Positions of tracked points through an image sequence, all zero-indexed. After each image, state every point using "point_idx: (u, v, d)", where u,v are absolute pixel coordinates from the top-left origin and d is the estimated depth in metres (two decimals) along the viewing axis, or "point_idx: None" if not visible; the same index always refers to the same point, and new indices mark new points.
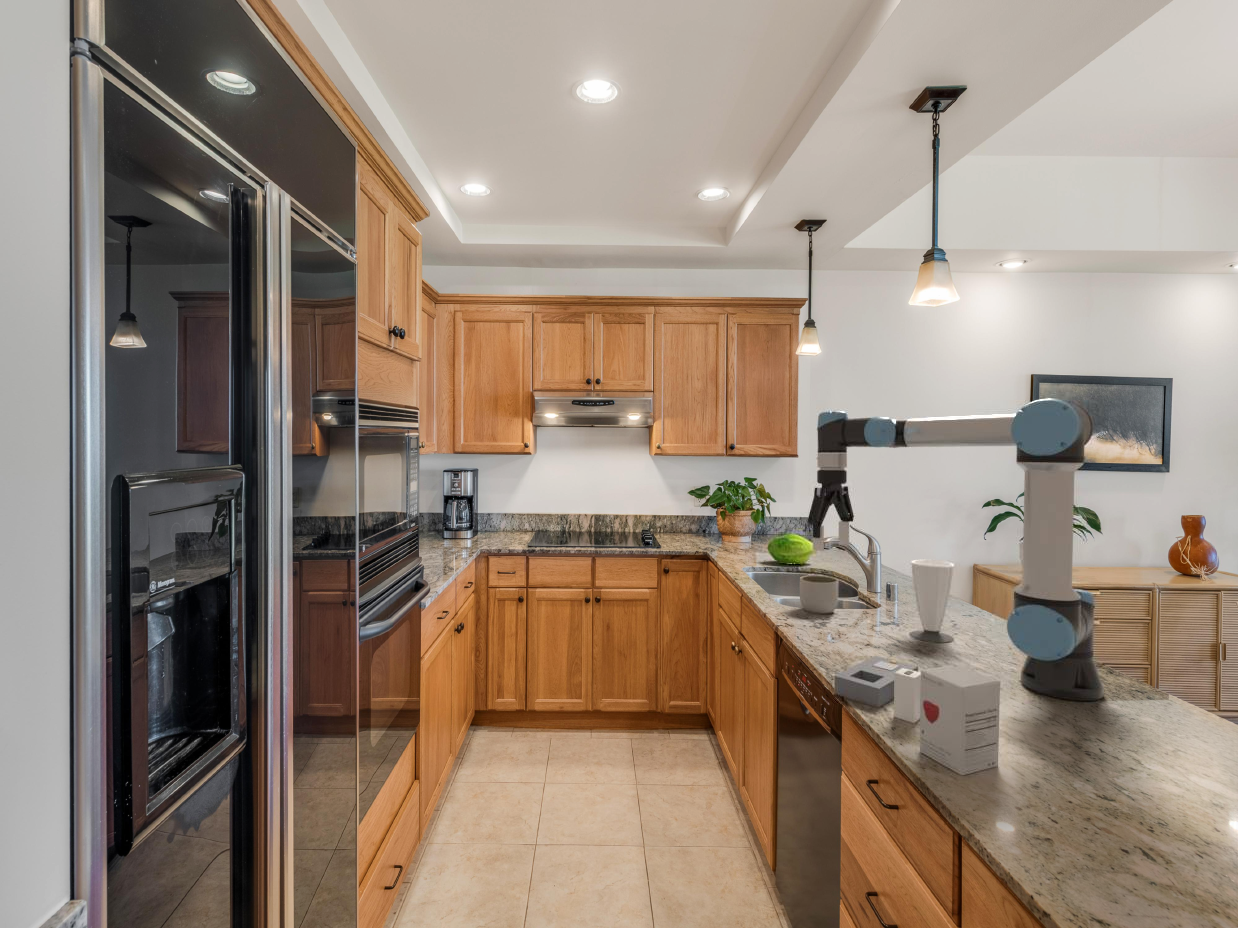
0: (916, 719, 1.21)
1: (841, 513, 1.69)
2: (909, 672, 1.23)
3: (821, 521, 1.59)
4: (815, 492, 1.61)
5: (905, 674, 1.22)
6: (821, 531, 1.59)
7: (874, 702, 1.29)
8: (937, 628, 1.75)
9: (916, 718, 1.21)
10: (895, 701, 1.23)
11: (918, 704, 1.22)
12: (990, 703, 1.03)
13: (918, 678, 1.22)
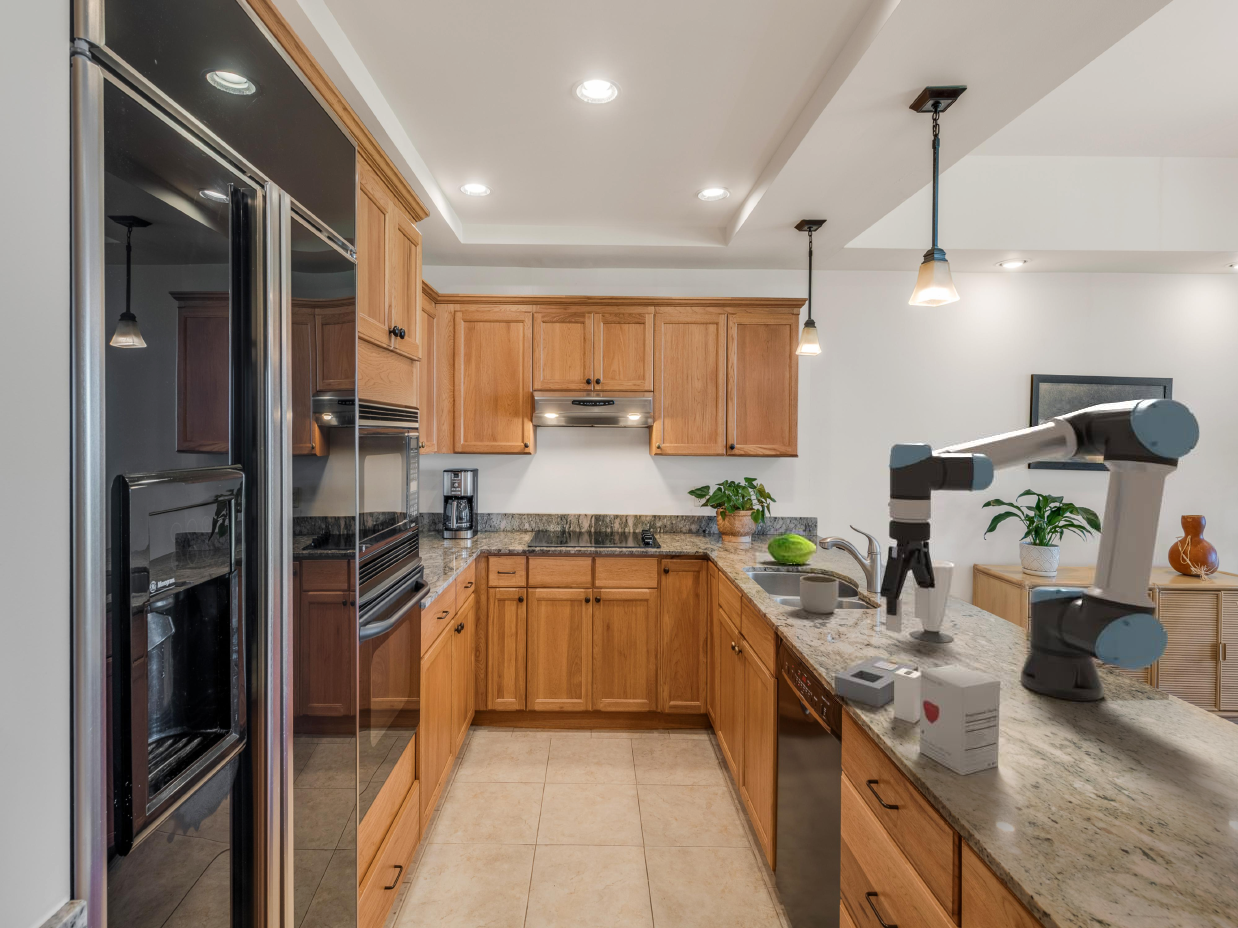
0: (916, 719, 1.21)
1: (919, 576, 1.27)
2: (909, 672, 1.23)
3: (899, 593, 1.17)
4: (889, 553, 1.19)
5: (905, 674, 1.22)
6: (898, 606, 1.18)
7: (874, 702, 1.29)
8: (937, 628, 1.75)
9: (916, 718, 1.21)
10: (895, 701, 1.23)
11: (918, 704, 1.22)
12: (990, 703, 1.03)
13: (918, 678, 1.22)
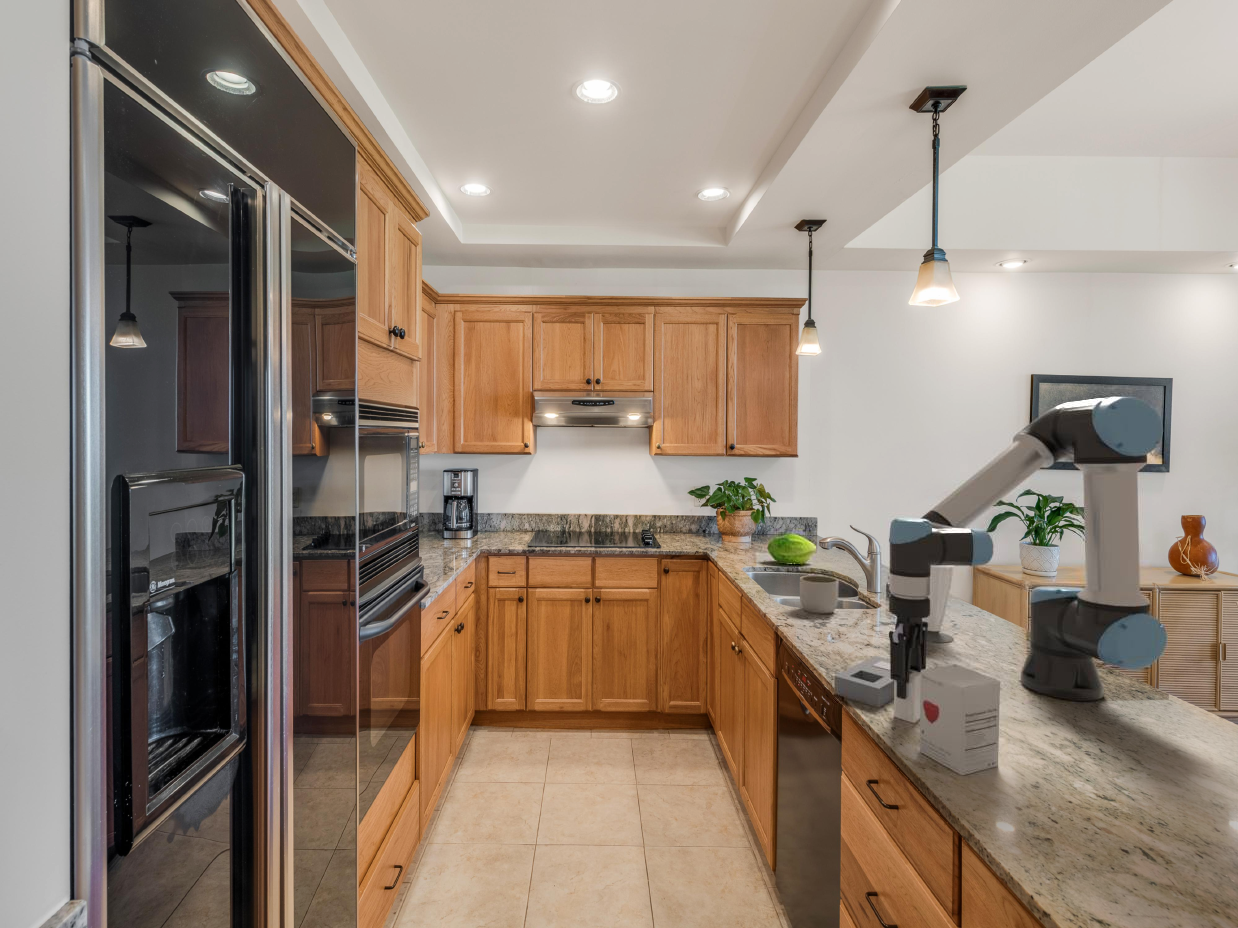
0: (916, 719, 1.21)
1: (912, 659, 1.25)
2: None
3: (908, 677, 1.20)
4: (891, 639, 1.20)
5: None
6: (908, 690, 1.21)
7: (874, 702, 1.29)
8: (937, 628, 1.75)
9: (916, 718, 1.21)
10: (895, 701, 1.23)
11: (918, 704, 1.22)
12: (990, 703, 1.03)
13: (918, 677, 1.22)
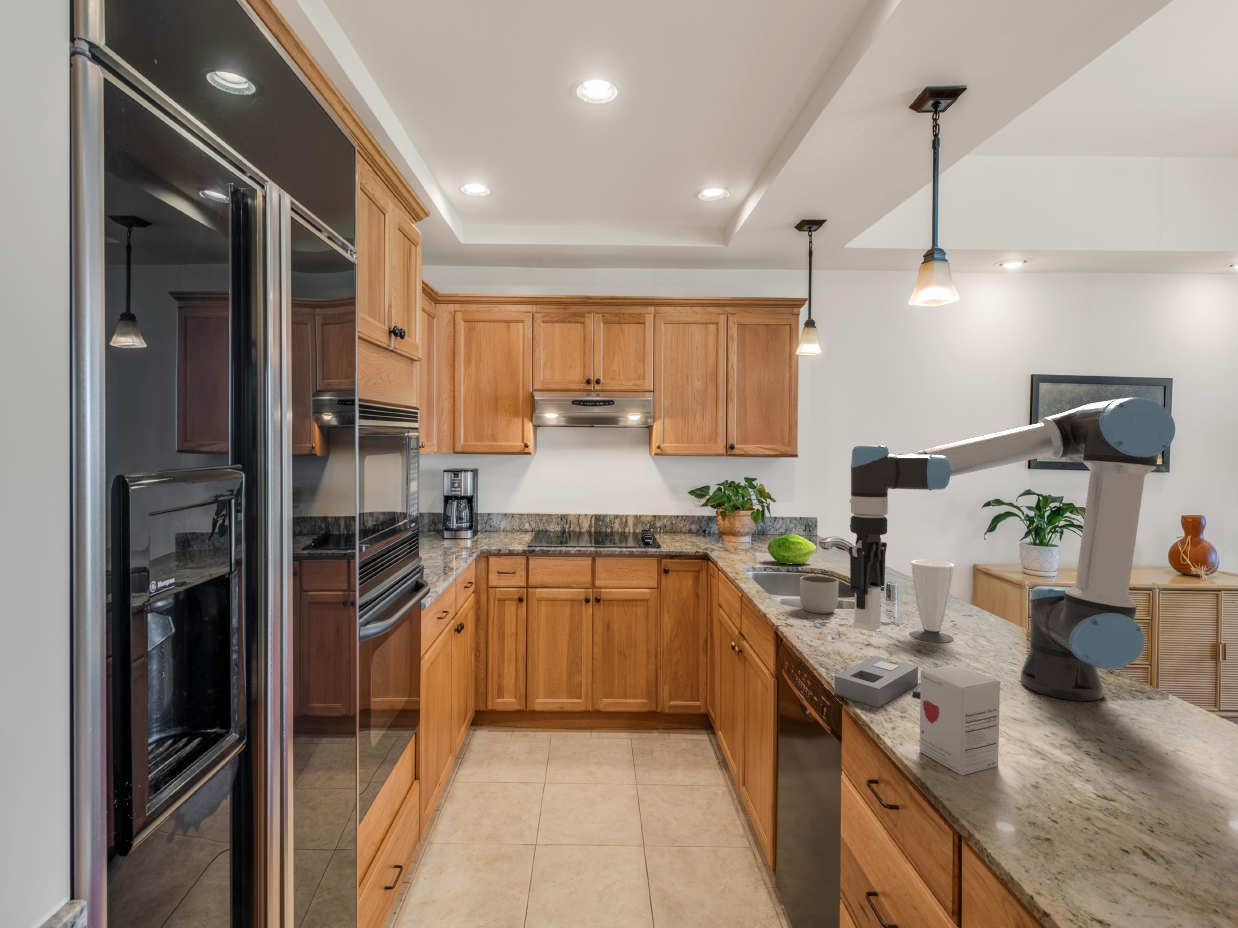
0: (874, 628, 1.33)
1: (871, 575, 1.36)
2: (868, 586, 1.34)
3: (866, 589, 1.31)
4: (851, 553, 1.31)
5: None
6: (867, 601, 1.32)
7: (874, 702, 1.29)
8: (937, 628, 1.75)
9: (874, 627, 1.33)
10: (855, 613, 1.35)
11: (876, 615, 1.33)
12: (990, 703, 1.03)
13: (875, 590, 1.33)
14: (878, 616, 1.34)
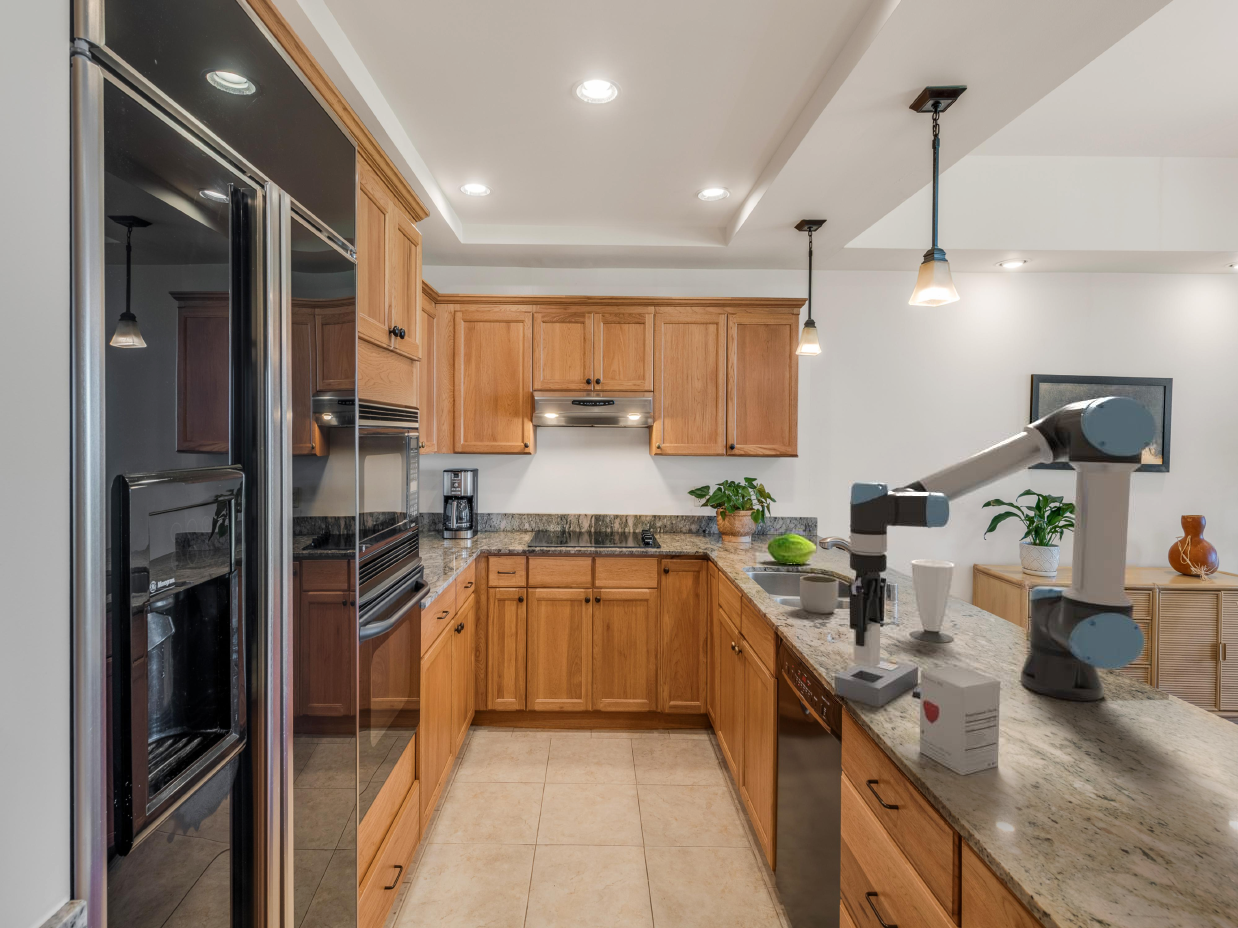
0: (873, 665, 1.33)
1: (871, 611, 1.36)
2: (867, 623, 1.35)
3: (865, 626, 1.32)
4: (850, 591, 1.31)
5: None
6: (866, 638, 1.32)
7: (874, 702, 1.29)
8: (937, 628, 1.75)
9: (873, 664, 1.33)
10: (854, 649, 1.35)
11: (875, 652, 1.33)
12: (990, 703, 1.03)
13: (875, 627, 1.33)
14: (877, 653, 1.34)
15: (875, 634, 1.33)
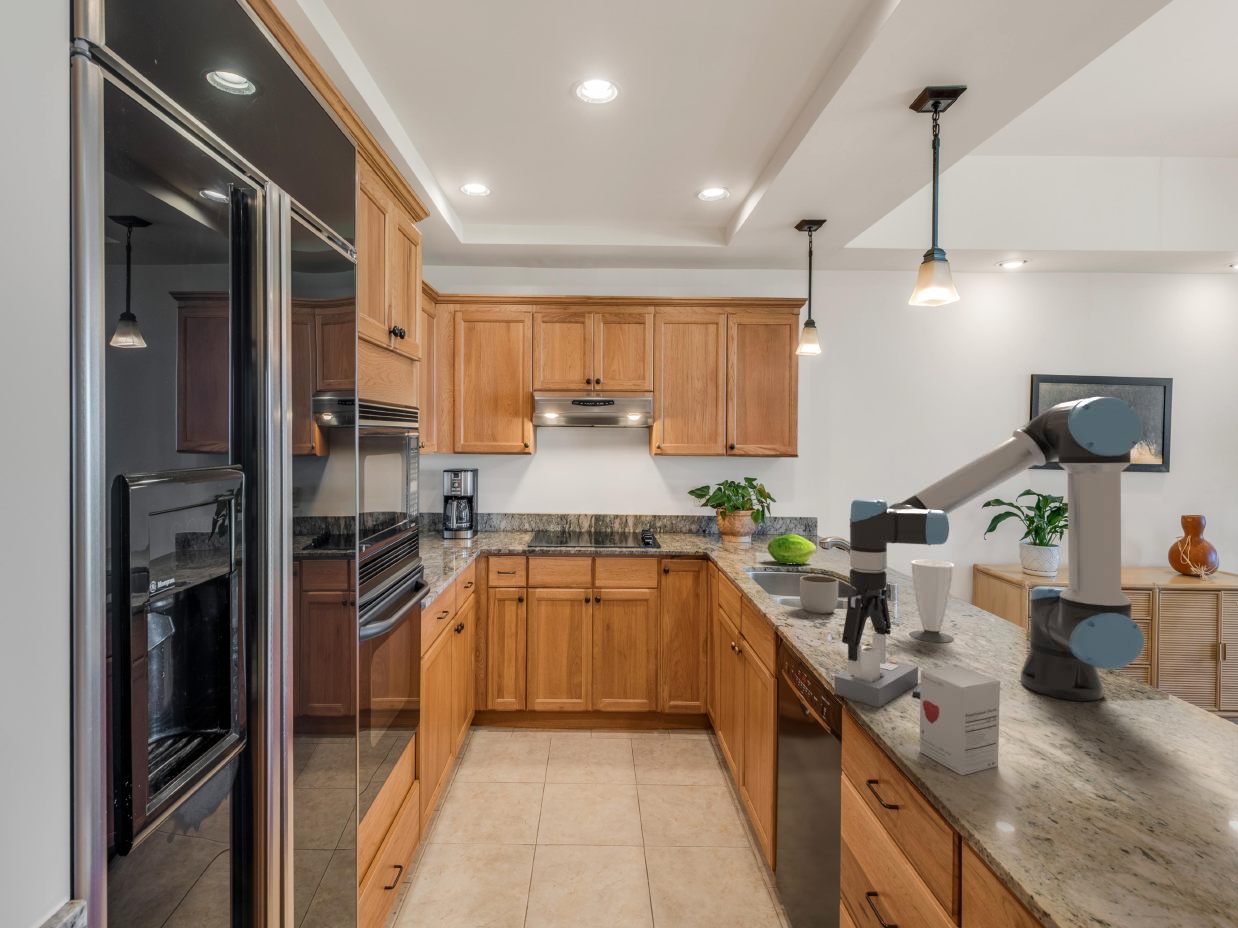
0: None
1: (876, 622, 1.38)
2: (867, 649, 1.35)
3: (858, 640, 1.30)
4: (849, 603, 1.31)
5: (863, 650, 1.34)
6: (858, 652, 1.30)
7: (874, 702, 1.29)
8: (937, 628, 1.75)
9: None
10: None
11: (875, 678, 1.34)
12: (990, 703, 1.03)
13: (875, 653, 1.33)
14: (877, 678, 1.34)
15: (875, 660, 1.33)
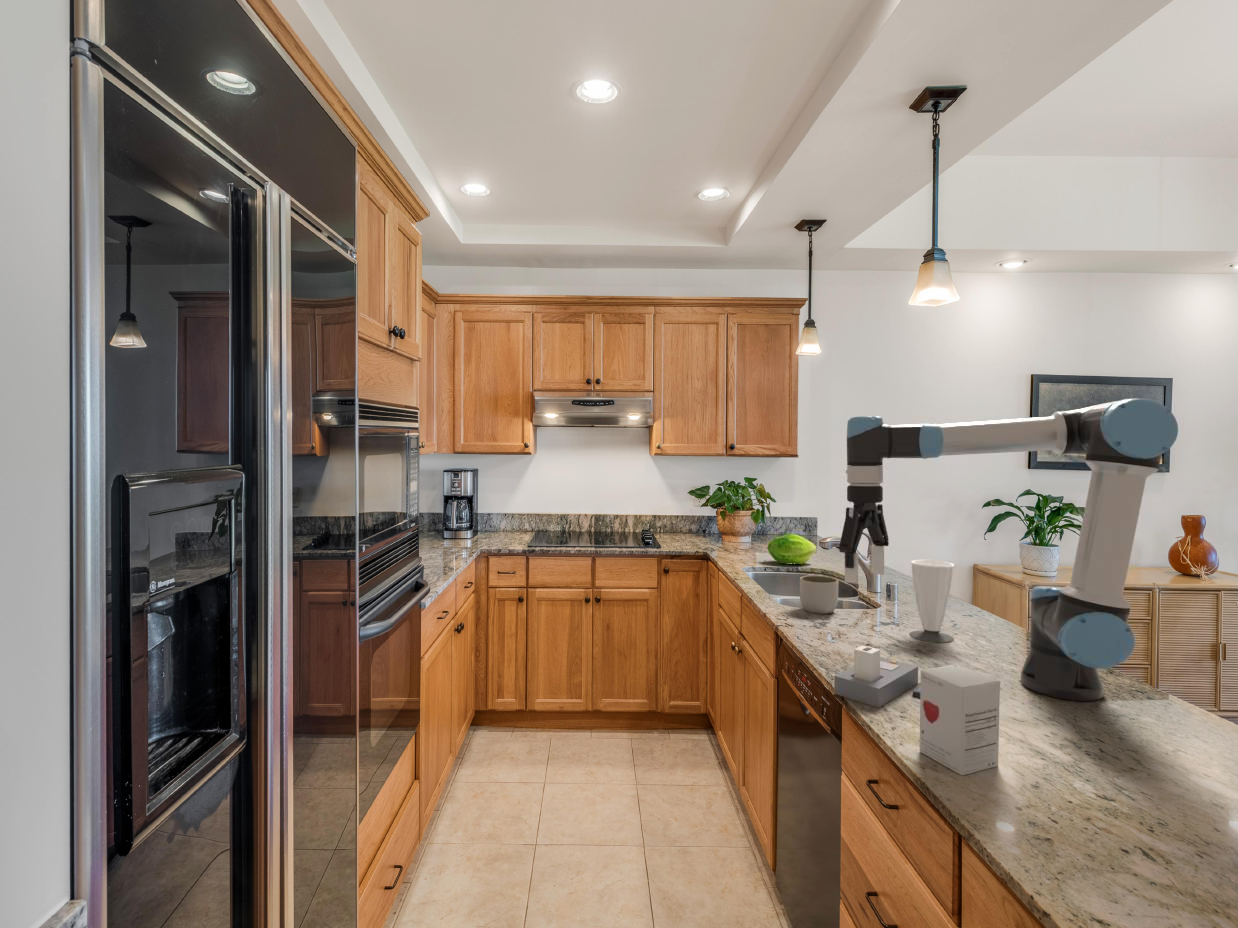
0: None
1: (874, 536, 1.42)
2: (867, 649, 1.35)
3: (855, 548, 1.32)
4: (847, 513, 1.34)
5: (863, 650, 1.34)
6: (855, 560, 1.33)
7: (874, 702, 1.29)
8: (937, 628, 1.75)
9: None
10: (855, 675, 1.35)
11: (875, 678, 1.34)
12: (990, 703, 1.03)
13: (875, 653, 1.33)
14: (877, 678, 1.34)
15: (875, 660, 1.33)
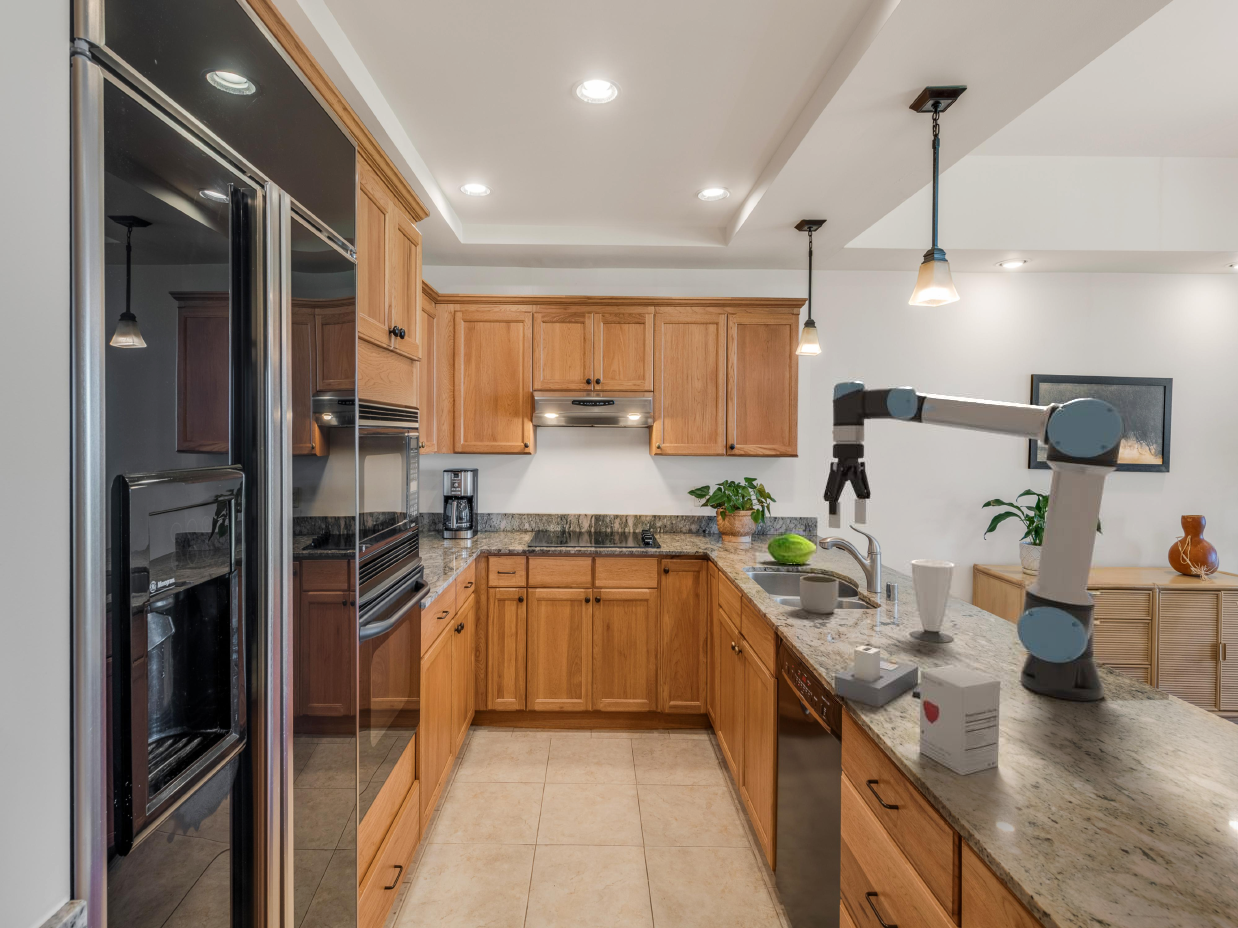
0: None
1: (857, 490, 1.61)
2: (867, 649, 1.35)
3: (838, 497, 1.51)
4: (831, 467, 1.53)
5: (863, 650, 1.34)
6: (838, 507, 1.51)
7: (874, 702, 1.29)
8: (937, 628, 1.75)
9: None
10: (855, 675, 1.35)
11: (875, 678, 1.34)
12: (990, 703, 1.03)
13: (875, 653, 1.33)
14: (877, 678, 1.34)
15: (875, 660, 1.33)
